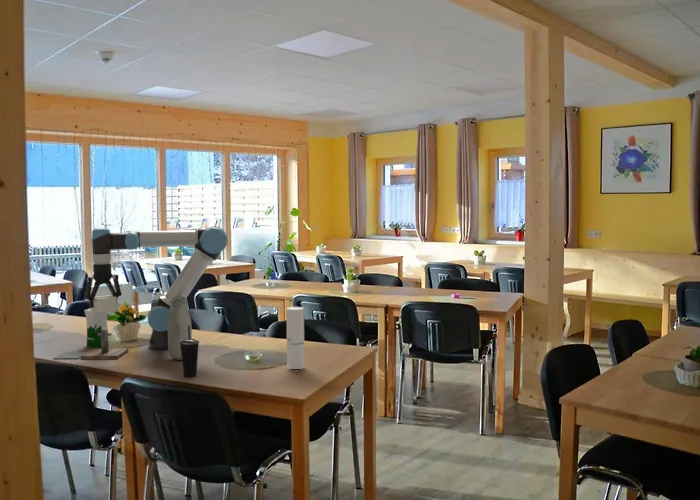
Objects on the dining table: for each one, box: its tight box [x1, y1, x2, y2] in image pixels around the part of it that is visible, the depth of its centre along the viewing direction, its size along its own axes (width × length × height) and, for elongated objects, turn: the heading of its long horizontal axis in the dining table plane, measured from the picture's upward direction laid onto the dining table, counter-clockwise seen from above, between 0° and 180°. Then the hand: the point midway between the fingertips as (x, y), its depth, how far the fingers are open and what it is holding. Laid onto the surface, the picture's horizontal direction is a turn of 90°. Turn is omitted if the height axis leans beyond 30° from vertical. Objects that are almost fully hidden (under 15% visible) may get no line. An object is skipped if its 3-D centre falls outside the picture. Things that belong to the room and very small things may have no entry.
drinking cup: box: [179, 326, 200, 379], centre depth 251 cm, size 8×8×20 cm
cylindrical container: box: [285, 306, 305, 370], centre depth 262 cm, size 7×7×25 cm
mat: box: [52, 351, 88, 360], centre depth 285 cm, size 11×11×1 cm
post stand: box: [80, 327, 129, 360], centre depth 286 cm, size 16×14×12 cm
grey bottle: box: [167, 296, 193, 361], centre depth 278 cm, size 10×10×28 cm
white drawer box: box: [90, 294, 118, 313], centre depth 285 cm, size 8×8×6 cm
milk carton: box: [84, 308, 109, 349], centre depth 305 cm, size 9×9×20 cm
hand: (104, 313), depth 285 cm, fingers closed on white drawer box, 8 cm apart
